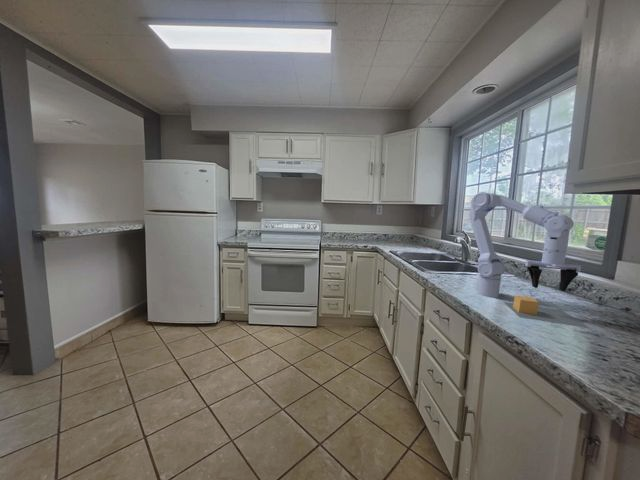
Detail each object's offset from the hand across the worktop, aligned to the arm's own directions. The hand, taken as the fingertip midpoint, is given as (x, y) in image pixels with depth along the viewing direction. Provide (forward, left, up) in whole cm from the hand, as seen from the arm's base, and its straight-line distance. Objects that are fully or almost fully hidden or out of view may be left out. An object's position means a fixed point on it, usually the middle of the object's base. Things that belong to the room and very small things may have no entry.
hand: (548, 288), depth 85 cm
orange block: (+3, -7, -8) cm, 11 cm away
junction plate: (+3, -2, -9) cm, 10 cm away
